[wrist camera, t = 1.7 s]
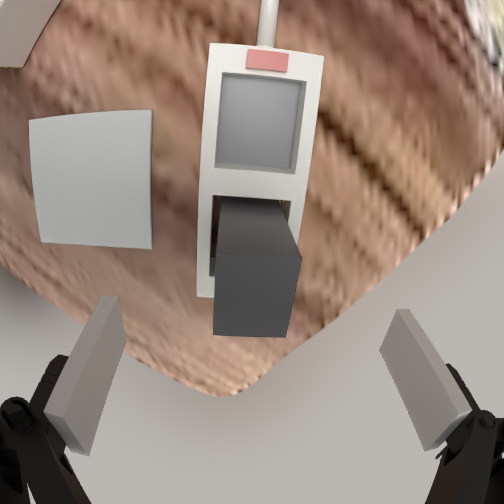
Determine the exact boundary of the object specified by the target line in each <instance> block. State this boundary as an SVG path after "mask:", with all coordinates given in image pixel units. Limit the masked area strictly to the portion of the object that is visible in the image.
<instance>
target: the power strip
mask: <svg viewBox="0 0 504 504" xmlns="http://www.w3.org/2000/svg"><path fill="white" fill-rule="evenodd" d="M278 5H279V0H261V8H260V17H259V26H258V35H257V44H256V46H248V45H236V44H218V43H210V50H209V59H208V69H207V79H206V91H205V102H204V115H203V129H202V144H201V160H200V180H199V203H198V236H197V297H208V298H214V286H215V263H216V257H211V254H212V232H213V212H214V195H222V196H237V197H251V198H264V199H276V200H283V204H282V211H283V213H284V216H285V218H286V221H287V223H288V225H289V228H290V230H291V233H292V235H293V237H294V240H295V242H296V245H297V244H298V238H299V232H300V226H301V220H302V214H303V208H304V202H305V196H306V189H307V183H308V176H309V169H310V163H311V156H312V149H313V141H314V134H315V127H316V119H317V111H318V103H319V95H320V86H321V78H322V69H323V59H324V56H320V55H314V54H309V53H303V52H297V51H290V50H283V49H276V48H274V43H275V33H276V24H277V15H278Z"/></svg>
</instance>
